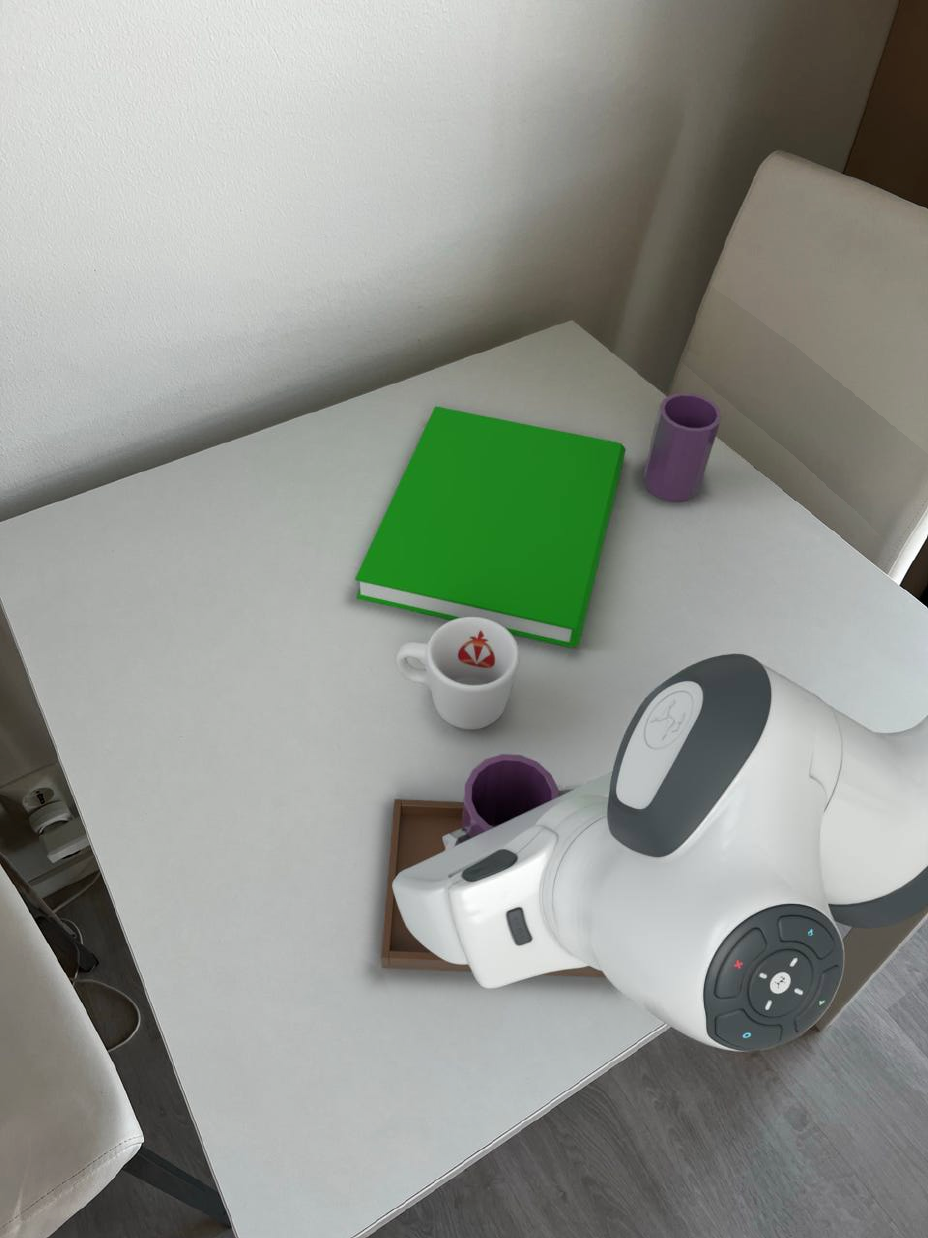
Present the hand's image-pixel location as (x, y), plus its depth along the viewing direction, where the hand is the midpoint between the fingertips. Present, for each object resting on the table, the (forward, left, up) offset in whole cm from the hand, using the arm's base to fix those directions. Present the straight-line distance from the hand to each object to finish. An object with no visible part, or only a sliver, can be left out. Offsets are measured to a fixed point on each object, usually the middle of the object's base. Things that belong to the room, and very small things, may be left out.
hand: (501, 819), depth 68 cm
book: (0, -40, -10) cm, 42 cm away
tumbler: (-20, -49, -10) cm, 54 cm away
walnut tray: (0, +1, -10) cm, 10 cm away
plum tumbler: (0, +1, -5) cm, 5 cm away
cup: (+4, -17, -11) cm, 21 cm away
